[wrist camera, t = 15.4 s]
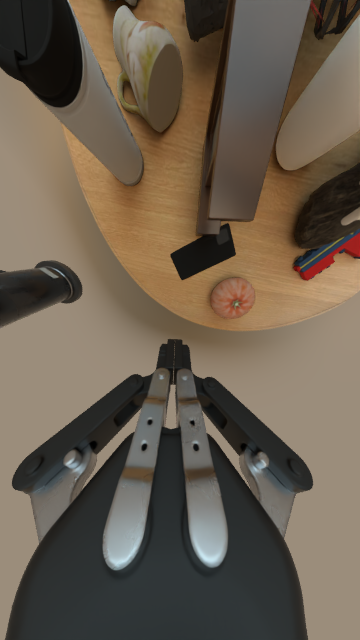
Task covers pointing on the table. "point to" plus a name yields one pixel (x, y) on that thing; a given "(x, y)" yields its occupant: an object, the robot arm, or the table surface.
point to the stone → (131, 0)
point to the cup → (324, 107)
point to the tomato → (232, 298)
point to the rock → (330, 211)
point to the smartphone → (204, 253)
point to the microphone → (210, 9)
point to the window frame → (246, 106)
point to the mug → (148, 68)
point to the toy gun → (327, 255)
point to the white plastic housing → (351, 217)
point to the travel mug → (67, 79)
